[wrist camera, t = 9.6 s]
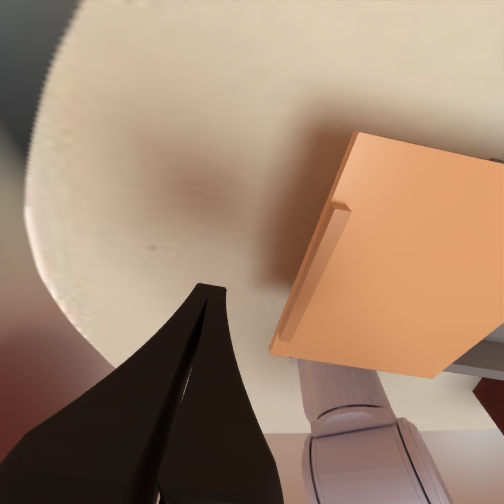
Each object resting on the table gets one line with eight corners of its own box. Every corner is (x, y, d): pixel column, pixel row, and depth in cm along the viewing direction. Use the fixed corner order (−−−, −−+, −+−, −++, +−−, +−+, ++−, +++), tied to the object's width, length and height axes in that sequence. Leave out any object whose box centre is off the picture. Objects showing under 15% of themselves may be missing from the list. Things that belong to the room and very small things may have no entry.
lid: (427, 371, 19) (438, 388, 18) (269, 347, 18) (269, 363, 17) (642, 194, 10) (690, 206, 9) (354, 130, 9) (366, 134, 8)
